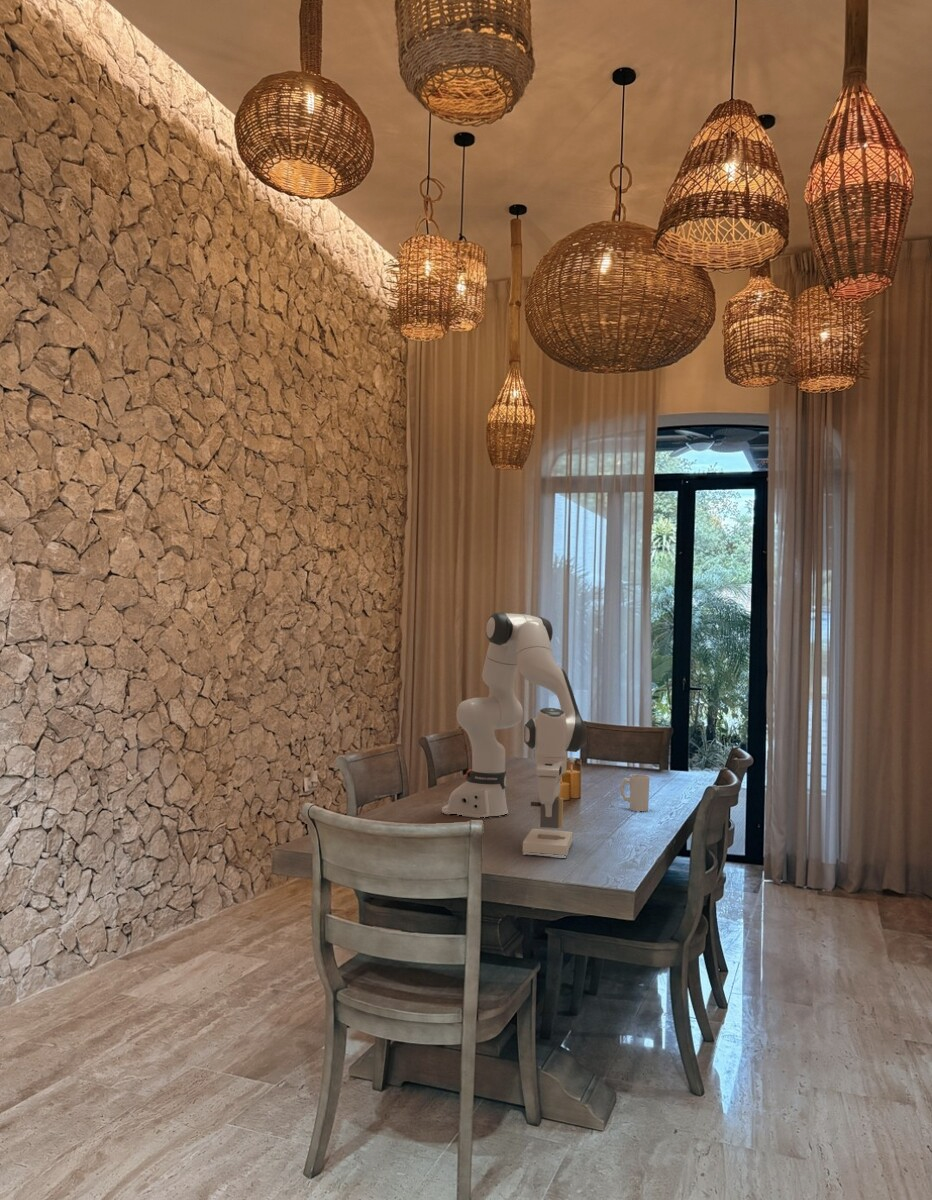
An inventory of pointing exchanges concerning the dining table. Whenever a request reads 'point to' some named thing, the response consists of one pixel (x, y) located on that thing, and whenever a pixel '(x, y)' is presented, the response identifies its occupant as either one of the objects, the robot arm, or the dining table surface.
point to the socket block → (548, 842)
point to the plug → (557, 814)
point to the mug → (637, 792)
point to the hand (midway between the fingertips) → (550, 814)
